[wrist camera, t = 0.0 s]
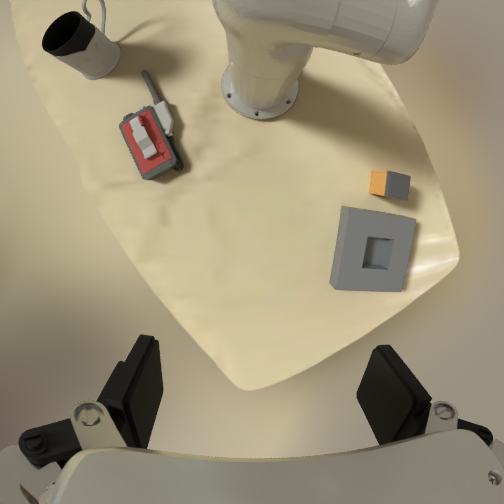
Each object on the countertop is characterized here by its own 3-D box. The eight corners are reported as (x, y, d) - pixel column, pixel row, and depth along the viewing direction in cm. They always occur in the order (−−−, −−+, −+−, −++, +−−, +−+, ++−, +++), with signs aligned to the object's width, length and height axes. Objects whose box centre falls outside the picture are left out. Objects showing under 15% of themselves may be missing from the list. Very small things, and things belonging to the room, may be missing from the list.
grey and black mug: (75, 79, 37) (31, 57, 23) (102, 20, 34) (70, -13, 19) (110, 81, 38) (68, 54, 24) (138, 19, 35) (110, -20, 20)
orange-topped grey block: (371, 171, 45) (390, 171, 38) (389, 175, 45) (410, 176, 38) (368, 193, 46) (387, 196, 39) (387, 196, 46) (407, 200, 39)
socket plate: (341, 205, 46) (349, 208, 43) (406, 216, 47) (416, 219, 44) (329, 282, 50) (335, 289, 46) (392, 285, 51) (400, 292, 47)
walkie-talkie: (196, 163, 44) (151, 69, 39) (191, 161, 39) (143, 61, 34) (151, 188, 44) (109, 95, 39) (142, 189, 40) (99, 89, 35)
